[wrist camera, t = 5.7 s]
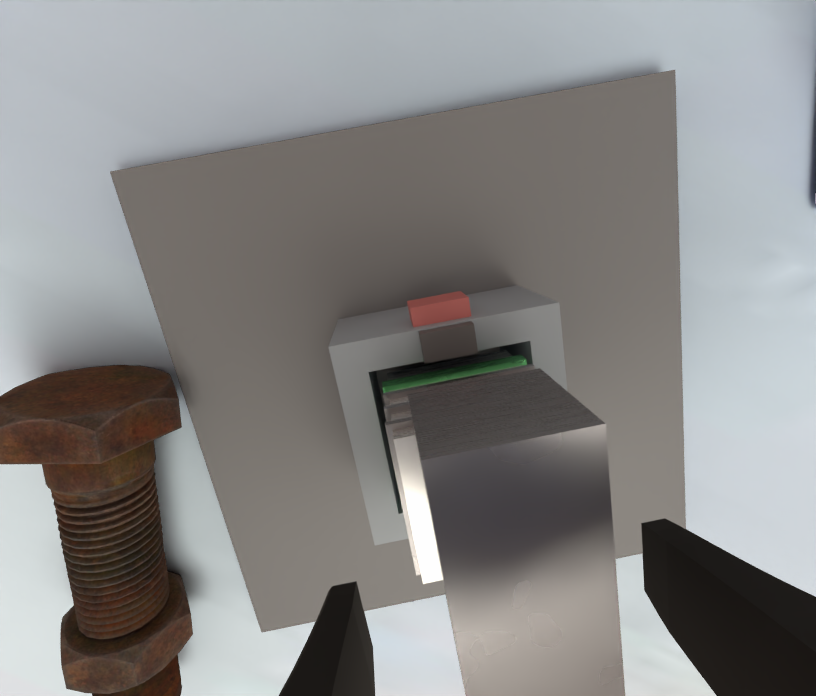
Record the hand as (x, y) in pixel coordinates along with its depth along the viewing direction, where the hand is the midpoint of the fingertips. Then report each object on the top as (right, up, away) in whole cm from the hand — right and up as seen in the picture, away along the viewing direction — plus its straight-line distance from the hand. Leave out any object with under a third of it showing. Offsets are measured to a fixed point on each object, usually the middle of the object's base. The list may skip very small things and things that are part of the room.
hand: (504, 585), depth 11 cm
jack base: (-1, +4, +8) cm, 9 cm away
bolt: (-14, -2, +9) cm, 17 cm away
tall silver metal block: (-1, +4, +4) cm, 6 cm away
